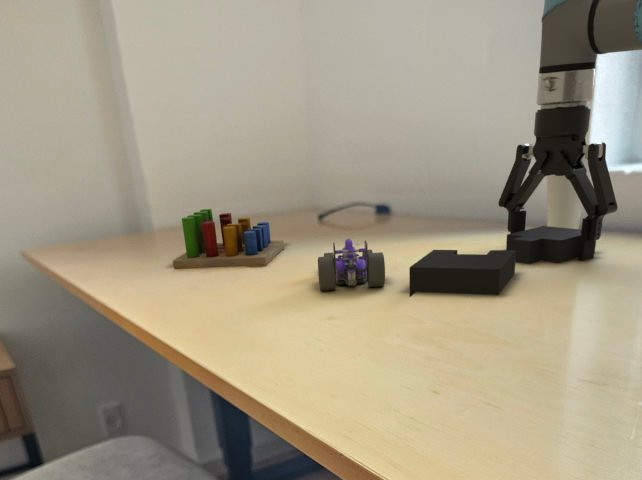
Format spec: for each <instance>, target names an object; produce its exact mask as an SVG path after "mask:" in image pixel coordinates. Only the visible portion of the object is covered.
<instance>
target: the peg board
mask: <svg viewBox="0 0 642 480" xmlns="http://www.w3.org/2000/svg"><path fill="white" fill-rule="evenodd" d="M218 218H219V224H220V232H221V239H222V242H218V240H217V238H218V237H217V231H216V222H215V221H214V216H213V210H212V208H203V209H200V210H199V211H194V212H193V214H188V215H186V216H185V217H181V224H182V225H181V226H182V231H183V232H182V233H183V236H184V237H183V238H184V245H185V251H186V252H184V253H182V254H181V255H179V256H178V257H176V258H175V259H173V260H172V265H173V269H174V270H193V269H195V270H196V269H212V268H213V269H214V268H217V269H218V268H235V267H236V268H238V267H263V266H267V265H268V264H269V263H270V262H271V261H272V260H273V259H274V258H276V256H278V254H279V253H281V252H282V251H283V250H284V249H285V243H284V239H277V240H271V231H270V222H269V221H260V222H258V223H257V224H256V225H253V226H252V225H251V217H239V218H238V219H237V223H233V219H232V213H231V212H226V213H220V214H219V215H218ZM251 226H252V227H251Z"/></svg>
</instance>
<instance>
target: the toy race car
mask: <svg viewBox="0 0 642 480" xmlns="http://www.w3.org/2000/svg"><path fill="white" fill-rule="evenodd" d="M353 243H354V242H353V240H352V239H351V238H346V239H345V241H344V247H342V249H337V250H336V244H335V242H333V243H332V248H333V249H332V250H333V252H324V253H323V256H318V257H317V271H318V284H319V291H320V292H324V291H325V292H327V291H335V290H336V288H337V285H346V286H347V287H355V286H357V285H358V284H363V283H365V282H367V283H366V284H367V287H368V288H378V287H379V288H380V287H385V284H386V262H385V255H384V253H383V252H382V251H381V252H373V249H368V247H369V246H368V242H367V240H364V248H358V249H356V247H355V246H354V244H353ZM359 253H361V255H360V254H359ZM336 255H337V257H336Z"/></svg>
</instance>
